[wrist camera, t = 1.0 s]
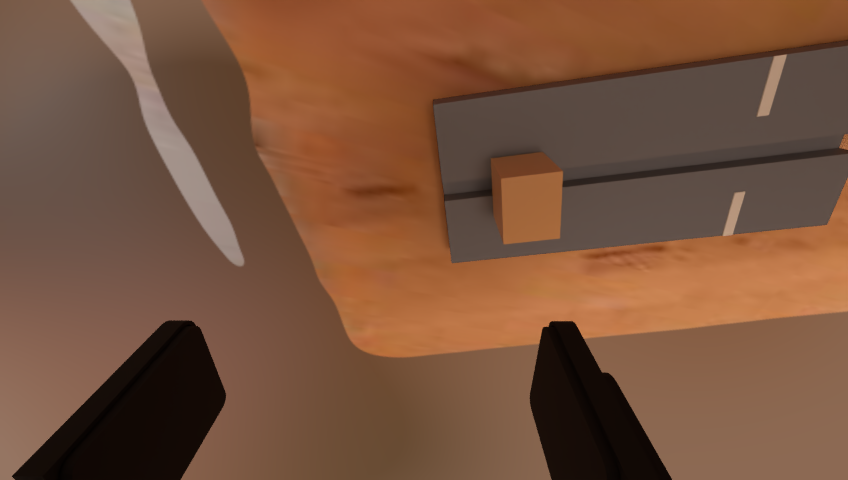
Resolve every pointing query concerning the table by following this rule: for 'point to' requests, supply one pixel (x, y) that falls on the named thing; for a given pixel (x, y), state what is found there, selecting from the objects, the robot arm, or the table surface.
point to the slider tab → (526, 197)
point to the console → (657, 151)
